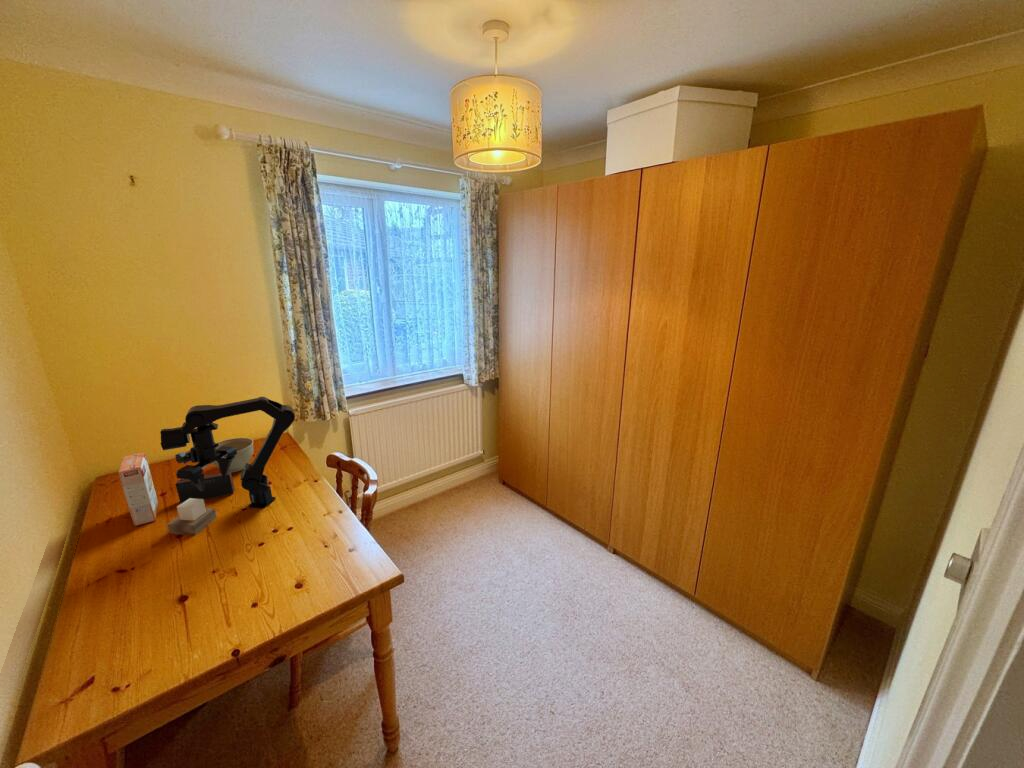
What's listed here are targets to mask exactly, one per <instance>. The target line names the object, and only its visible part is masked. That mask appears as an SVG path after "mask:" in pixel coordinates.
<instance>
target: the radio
mask: <svg viewBox="0 0 1024 768" xmlns="http://www.w3.org/2000/svg"><path fill="white" fill-rule="evenodd" d="M217 464H218V463H217ZM213 466H216V465H215V464H214V463H213V464H212V465H210V466H209V465H208V466H206V467H204V468H202V470H203V471H204V470H206V469H208V468H211V467H213ZM232 474H233V473H231V472H228V473H227V475H226V477H222V474H221V472H218V473H212V474H206V475H205V474H204V491H200V490H199V489H198V488H197V487H196V486H195V485H194V483H193V482H192V481H190V480H189V479H178V480H177V481H176V482H175V488H176V492H177V495H178V500H179V502H180V504H182V503H183V502H185V501H186V500H188V499H189V498H194V499H203V500H208V499H214V498H220V497H224V496H229V495H233V494H234V493H235V490H236V489H235V484H234V479H233V476H232Z"/></svg>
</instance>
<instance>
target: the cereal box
mask: <svg viewBox="0 0 1024 768" xmlns="http://www.w3.org/2000/svg"><path fill="white" fill-rule="evenodd" d="M118 475H119V479H120V482H121V486H122V490H123V492H124V496H125V499H126V502H127V506H128V509H129V513H130V517H131V519H132V523H133V525H134V527H137V526H140V525H144V524H148V523H151V522H155V521H156V519H157V512H158V505H159V500H158V497H157V493H156V489H155V485H154V483H153V477H152V473H151V470H150V466H149V462H148V459H147V456H146V453H145V452H140V453H135V454H130V455H125V456H123V458H122V462H121V464H120V466H119V470H118Z"/></svg>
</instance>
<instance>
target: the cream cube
mask: <svg viewBox="0 0 1024 768" xmlns="http://www.w3.org/2000/svg"><path fill="white" fill-rule="evenodd" d="M206 509H207V508H206V504H205V499H194V498H189V499H188V500H186V501H185V502H183V503H182V504H181V503H180V504H178V505H177V506H176V510H177V514H178V516H179V517H180V520H192V521H194V520H196V519H197V518H199V517H200V516H201V515H203V514H204V513H205V512H206Z"/></svg>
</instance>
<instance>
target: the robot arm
mask: <svg viewBox="0 0 1024 768" xmlns="http://www.w3.org/2000/svg"><path fill="white" fill-rule="evenodd" d="M258 411H261V412H263V413H264V414H266V415H268V416H269V417H271V418H272V419H273V422H272V425H271V428H270V429H269V432H268V434H267V435H266V437H265V439H264V441H263V443H262V445H261V447H260V448H259V451H258V453H256V456H255V458H254V459H253V461H252V462H251V463H246V465H245V468H244V469H243V470H241V471H240V481H241V483H240V485H241V487H242V489H244V490H247V491H248V495H249V496H248V497H249V500H250V503H249V504H248V508H259V509H260V508H261V509H264V508H267V506H269V505H270V504H272V502H274V501H275V500H276V499H277V498H276V496H273V494H272V489H271V486H270V485H269V477H268V475H266V474H264V471H265V467H266V465H267V463H268V462H269V459H270V458H271V456H272V454H273V452H274V451H275V449H276V447H277V445H278V443H279V440H280V439H281V437H282V435H283V434H284V432H286V431H287V430H288V429H289V428H290V426H291V425H292V424H293V423H294V421H295V419H296V415H295V411H294V408H293V407H292V406H290V405H289V404H282V403H280V402H277V401H275V400H272V399H269V398H268V397H266V396H259V397H257V398H251V399H246V400H240V401H235V402H231V403H230V402H228V403H226V404H219V405H218V404H217V405H213V404H201V405H194V406H192V407H190V408H189V410H188V411H187V413H186V416H185V422H183V423H182V426H180V427H172V428H162V429H160V446H161V448H162V451H167V450H168V451H169V450H174V449H181V448H186V447H187V445H188V444H190V443H192V447H190V450H188V451H186V452H184V451H182V452H178V453H177V454H175V455H174V456H175V461H176V462H177V463H178V464H182V463H183V464H186V465H184V466H183V467H181V468H179V469H177V470H176V472H175V475H176V478H177V479H178V480H181V479H189V480H190V481H192V482H193V483H194V485H195V486H196V487H197V488H198V489H199V490H200V491H204V476H205V474H204V473H203V471H204V470H202V469H205V468H207V467H208V466H209V465H211V464H212V463H213V462H214V461H217V462H218V464H219V467H220V468H219V472H220V473H221V474H222V477H226V475H227V473H228V470H229V467H230V465H231V463H232V460H233V458H235V456H234V455H236V454H237V450H236V448H234V447H229V446H222V447H220V448H218V449H216V447H217V446H219V445H218V442H215V438H214V433H213V431H215V430H218V427H219V424H218V423H214V422H216V421H217V420H218V421H219V420H220V419H223V418H229V417H233V416H238V415H243V414H248V413H254V412H258ZM189 462H191V463H193V464H195V465H192V464H191V465H190V464H187V463H189ZM196 463H197V464H196ZM213 464H214V463H213Z"/></svg>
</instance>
